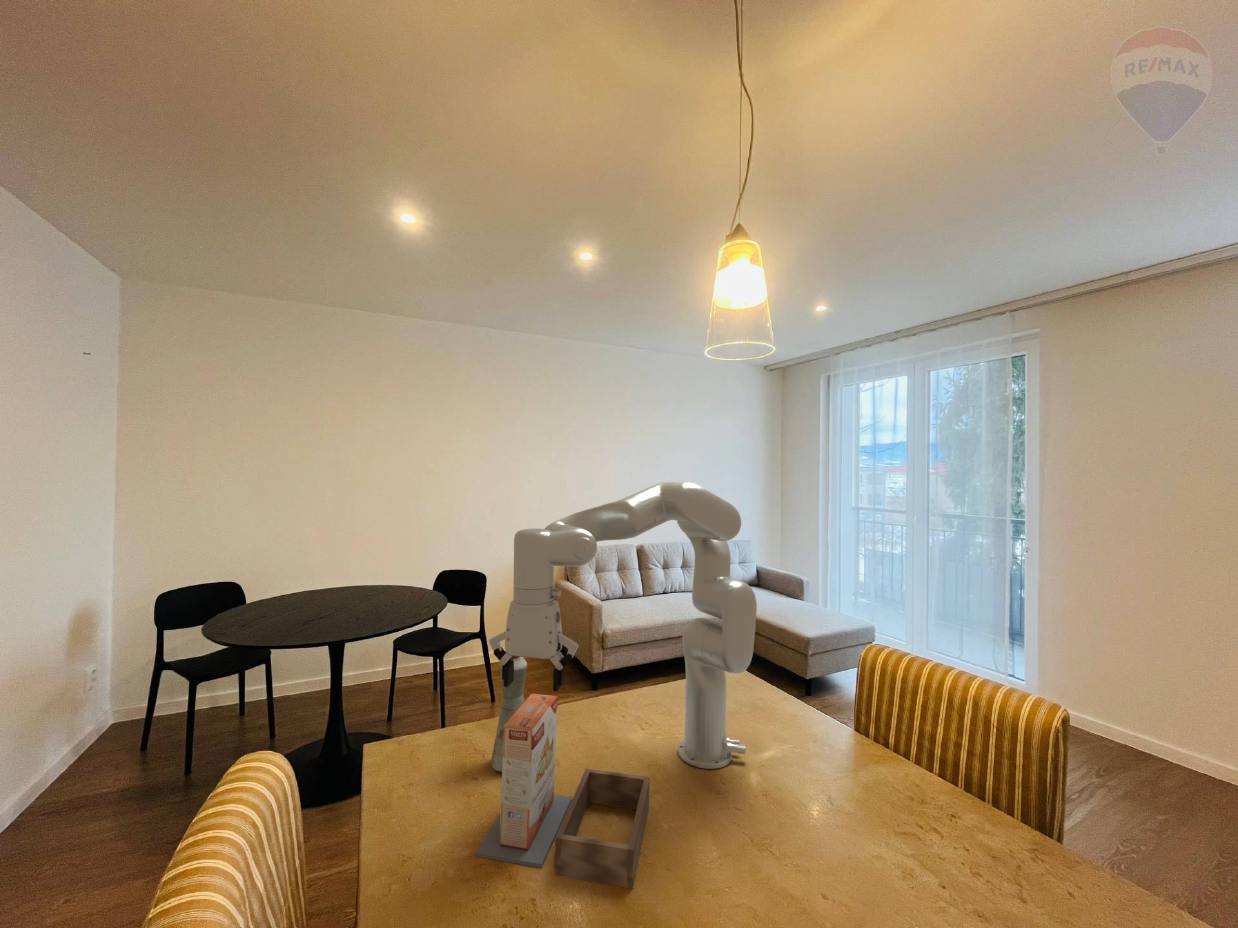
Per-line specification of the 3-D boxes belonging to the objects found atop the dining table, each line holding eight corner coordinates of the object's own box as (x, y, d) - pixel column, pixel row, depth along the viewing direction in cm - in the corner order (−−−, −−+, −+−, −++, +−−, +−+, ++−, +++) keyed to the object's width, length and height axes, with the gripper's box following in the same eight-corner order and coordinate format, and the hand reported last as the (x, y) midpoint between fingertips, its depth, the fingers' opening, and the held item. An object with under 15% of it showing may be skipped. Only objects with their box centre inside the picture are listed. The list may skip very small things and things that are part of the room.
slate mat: (571, 799, 101) (572, 796, 101) (541, 867, 83) (541, 863, 84) (515, 791, 103) (515, 788, 103) (474, 856, 86) (475, 852, 86)
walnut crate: (648, 807, 99) (649, 776, 99) (632, 888, 80) (633, 850, 80) (585, 798, 102) (585, 768, 102) (554, 874, 82) (555, 837, 82)
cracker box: (530, 851, 86) (533, 728, 87) (497, 846, 87) (501, 724, 88) (556, 800, 100) (558, 694, 100) (527, 796, 101) (530, 691, 102)
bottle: (481, 770, 111) (485, 642, 111) (505, 750, 119) (509, 631, 120) (515, 780, 107) (518, 648, 108) (537, 758, 116) (540, 636, 116)
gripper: (583, 592, 97) (582, 681, 96) (499, 588, 100) (498, 674, 100) (572, 602, 89) (571, 699, 89) (482, 597, 93) (481, 690, 92)
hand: (532, 686), depth 94 cm, fingers open, 9 cm apart
